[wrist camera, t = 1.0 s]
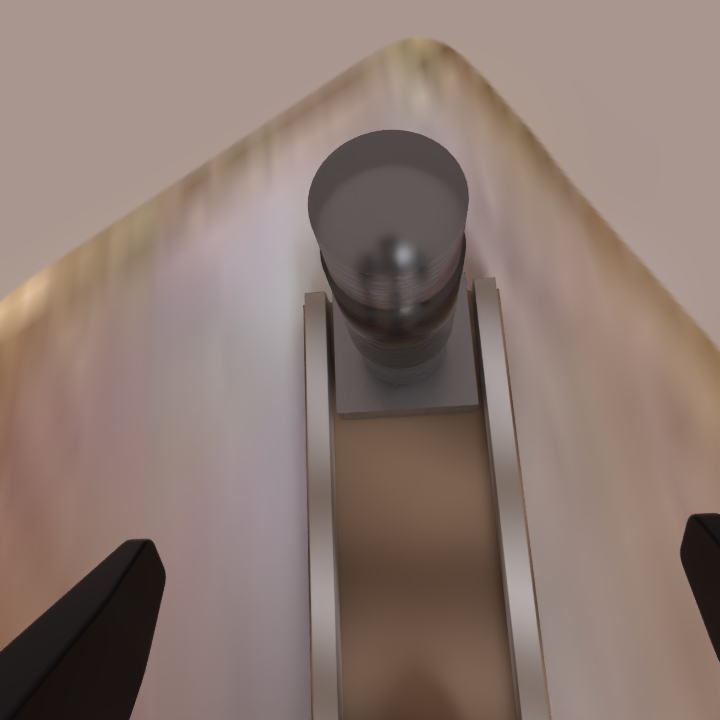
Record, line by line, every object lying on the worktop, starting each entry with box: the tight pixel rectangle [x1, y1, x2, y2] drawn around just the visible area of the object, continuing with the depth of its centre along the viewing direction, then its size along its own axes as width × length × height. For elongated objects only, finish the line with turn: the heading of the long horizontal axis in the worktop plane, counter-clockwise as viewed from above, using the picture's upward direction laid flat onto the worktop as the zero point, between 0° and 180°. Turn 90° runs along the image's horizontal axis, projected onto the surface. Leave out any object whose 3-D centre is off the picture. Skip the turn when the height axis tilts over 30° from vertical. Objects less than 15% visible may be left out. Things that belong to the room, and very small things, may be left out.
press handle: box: [308, 130, 479, 421], centre depth 16 cm, size 5×5×11 cm
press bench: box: [303, 277, 551, 720], centre depth 19 cm, size 23×8×4 cm, turn 3°
